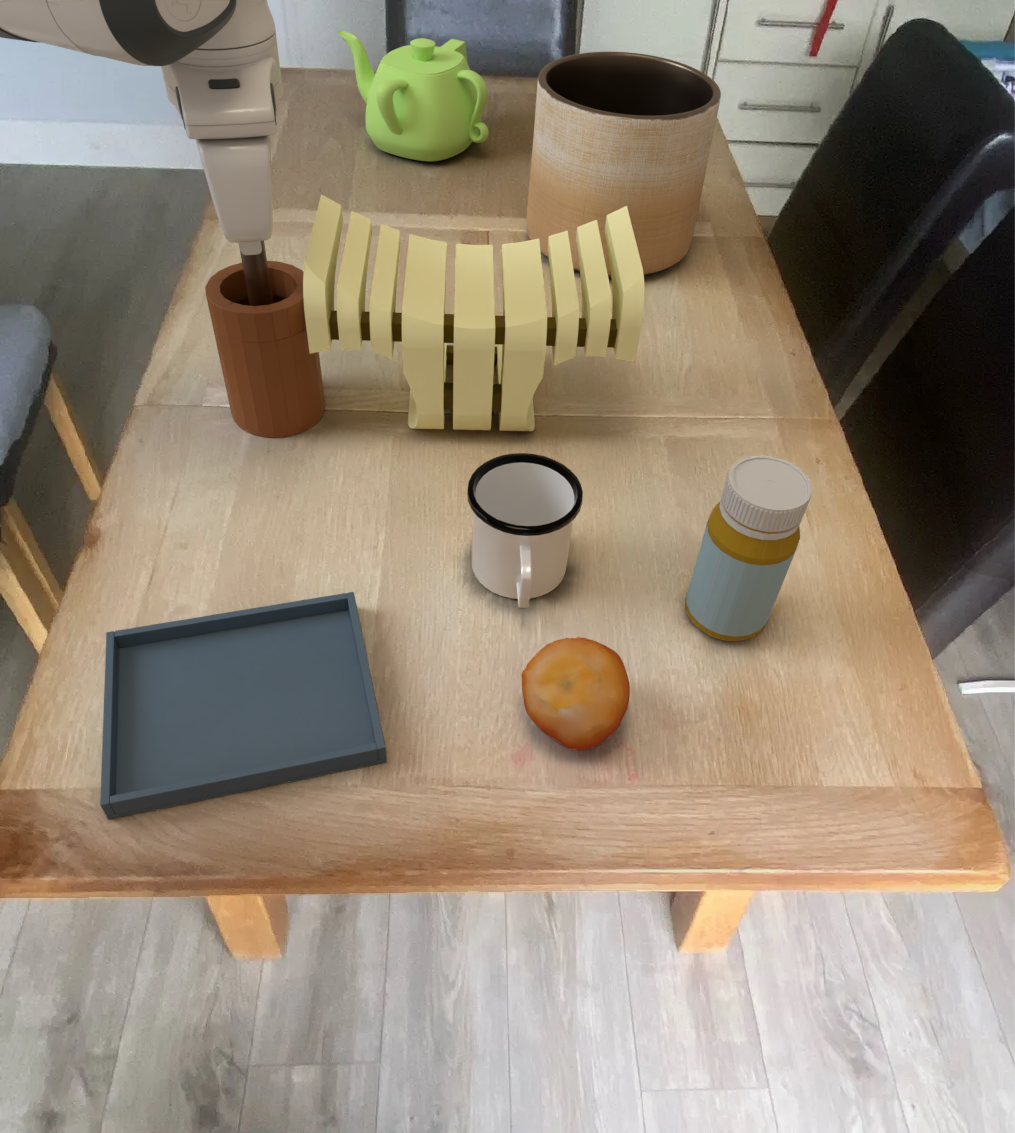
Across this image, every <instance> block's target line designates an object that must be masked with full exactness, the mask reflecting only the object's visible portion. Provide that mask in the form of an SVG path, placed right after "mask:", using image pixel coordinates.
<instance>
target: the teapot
mask: <svg viewBox="0 0 1015 1133" xmlns="http://www.w3.org/2000/svg"><path fill="white" fill-rule="evenodd" d="M337 34H338V35H339V36H340V37H341V38H342V39H343V40H344V41H345V43H346V45H347V46H348V47H349V49H350V52H351V56H352V58H353V63H354V64H353V65H354V71H355V80H356V85H357V90H358V92H359V95H360V96H361V98H362V100H363V101H364V102H365V104H366V107H365V118H364V120H365V121H364V122H365V130H366V133H367V135H368V136H369V138H370V139H371V141H372V143H373V144H374V145H375V146H376V148H377V149H379V150H381V151H383V152H385V153H388V154H391V155H394V156H398V157H401V158H405V159H409V160H415V161H419V162H420V161H421V162H438V161H443V160H447V159H450V158H453V157H454V156H457V155H459V154H462V153H463V152H464V151H465V150H467V149H468V148H469V147H470V146H471V144H472V143H476V144H481V143H484V142H486V140H487V139H488V138H489V127H488V126H487V125H486V124H485V123H484V122H482V117H483V116H482V115H483V114H484V111H485V107H486V104H487V100H488V86H487V84H486V81H485V80H484V79H483V77H482V75H480V74H479V73H478V72H476V71H474V70H471V67H470V66H469V63H468V54H467V44H466V41H464V40H460V39H455V38H450V39H449V40H448V41H446V42H444V43H443V44H442V45H441V46H437V45H436V41H434V40H433V39H429V38H423V37H421V38H414V39H412V40H410V42H409V44H407V45H403V46H400V47H397V48H395V49H393V50H391V51H389V52H388V53H386V54H385V55H384V56H383V57H382V59H381V60H380V62H379V64H378V66H377V69H376V72H374V70H373V68H372V65H371V63H370V59H369V57H368V53H367V50H366V48H365V46H364V44H363V42H362V41H361V40H360V39H359V37H357V36H356V35H354V34H352V33H351V32H348V31H344V30H337Z"/></svg>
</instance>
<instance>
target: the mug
mask: <svg viewBox="0 0 1015 1133" xmlns="http://www.w3.org/2000/svg"><path fill="white" fill-rule="evenodd" d="M583 491H584V490H583V487H582V483H581V482H580V480H579V478H578V477H577V475H576V474H575V473H574V472H573V471H572V470H571V469H569V467H567V466H566V465H565V464H563V463H561V462H560V461H557V460H556V459H553V458H550V457H547V456H545V455H541V454H537V453H528V452H527V453H526V452H515V453H514V452H513V453H507V454H502V455H499V456H496V457H493V458H491V459H488V460H487V461H485V462H483V463H482V464H481V465H479V466H478V467H477V468H476V469H475V470H474V471H473V473H471V476H470V477H469V479H468V484H467V491H466V497H467V502H468V504H469V507H470V509H471V511H472V513H473V515H472V536H471V537H472V538H471V540H472V542H471V569H472V571H473V574H474V576H475V578H476V579H477V581H478V582H479V583H480V584H481V585H482V586H483V587H484V588H485V589H487V590H488V591H490V592H492V593H494V594H496V595H499V596H501V597H504V598H509V599H514V600H515V599H516V600H517V607H518V608H519V609H528V608H529V606H530V600H531V599H534V598H539V597H541V596H545V595H547V594H549V593H550V592H552V591H553V590H555V589H556V588H557V587H558V586H559V585H560V584H561V582H562V581H563V579H564V578H565V574H566V572H567V567H568V559H569V552H570V545H571V544H570V543H571V539H572V538H571V536H572V530H573V523H574V520H575V519H576V518H577V516H578V515H579V513H580V512H581V509H582V506H583V501H584V500H583V497H584V496H583V495H584V492H583Z"/></svg>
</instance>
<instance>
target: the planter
mask: <svg viewBox="0 0 1015 1133" xmlns="http://www.w3.org/2000/svg"><path fill="white" fill-rule="evenodd" d="M721 97H722V92H721V89H720V86H719V85H718V84H717V82H716V81H715V80H714V79H713V78H711V77H710V76H709V75H708V74H706V73H704V72H702V71H701V70H699V69H697V68H695V67H692V66H690V65H687V64H685V63H682V62H680V61H677V60H673V59H670V58H665V57H662V56H657V55H651V54H645V53H637V52H627V51H591V52H582V53H575V54H570V55H566V56H563V57H560V58H556V59H554V60H552V61H551V62H549V63H547V64H546V65H545V66H543V67H542V68H541V70H540V71H539V73H538V77H537V86H536V98H535V99H536V100H535V113H534V125H533V135H532V136H533V139H532V150H531V161H530V170H529V171H530V172H529V184H528V194H527V195H528V196H527V206H526V207H527V208H526V233H527V236H528V238H529V240H534V239H539V242H540V251H541V254H543V256H545V257H547V258H548V259H549V256H548V237H549V236H551V235H554V234H557V233H561V232H564V231H567V230H568V236H569V243H570V250H571V256H572V263H573V270H574V272H577V273H580V267H579V259H578V251H577V244H576V234H577V227H579V226H581V225H584V224H587V223H589V222H592V221H594V220H597V223H598V228H599V233H600V238H601V243H602V248H603V253H604V259H605V264H606V269H607V274H608V278H611V269H610V261H609V255H608V249H607V243H606V238H605V232H604V231H605V224H606V217H607V215H608V214H610V213H612V212H615V211H617V210H619V209H621V208H623V207H625V206H627V208H628V212H629V216H630V220H631V224H632V228H633V232H634V236H635V240H636V244H637V248H638V252H639V256H640V260H641V264H642V268H643V273H644V277H645V276H648V275H653V274H656V273H659V272H661V271H664V270H667V269H669V268H670V267H672V266H674V265H675V264H677V263H679V262H680V261H681V260H683V258H684V257H685V256H686V255H687V254H688V252H689V250H690V248H691V245H692V242H693V239H694V234H695V229H696V224H697V219H698V213H699V209H700V204H701V200H702V194H703V188H704V184H705V179H706V178H705V177H706V173H707V167H708V162H709V157H710V154H711V147H712V144H713V137H714V132H715V127H716V123H717V118H718V114H719V108H720V103H721Z"/></svg>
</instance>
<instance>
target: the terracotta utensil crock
mask: <svg viewBox="0 0 1015 1133" xmlns="http://www.w3.org/2000/svg"><path fill="white" fill-rule="evenodd" d="M267 264H268V270H269V277H270V283H271V290H272V296H273V304H270V305H261V306H250V305H249V300H248V294H247V288H246V282H245V277H244V271H243V265H242V262H239V263H234V264H230V265H229V266H226V267H223V268H222V269H220V270H218V271H217V272H216V273H215V274H213V275H212V276H210V277H209V279H208V281H207V282H206V284H205V287H204V289H205V297H206V302H207V306H208V311H209V316H210V320H211V326H212V329H213V334H214V339H215V343H216V348H217V354H218V357H219V363H220V367H221V370H222V372H221V373H222V377H223V381H224V386H225V390H226V395H227V400H228V405H229V409H230V413H231V417H232V419H233V422H234V423H235V424H236V425H237V426H238V427H239V428H240V429H241V430H243V431H244V432H246V433H248V434H251V435H253V436H258V437H263V438H285V437H291V436H295V435H297V434H298V435H299V434H301V433H303V432H305V431H307V430H310V428H313V426H315V425H316V424H317V423H318V422H319V421H320V420H321V419H322V417H323V415H324V413H325V409H326V404H325V403H326V400H325V392H324V383H323V375H322V367H321V358H320V352H316V353H311V354H310V352H309V345H308V337H307V329H306V321H305V313H304V299H303V273H304V270H302V269H301V268H299V267H297V266H295V265H293V264H290V263H286V262H281V261H278V260H267Z"/></svg>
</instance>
